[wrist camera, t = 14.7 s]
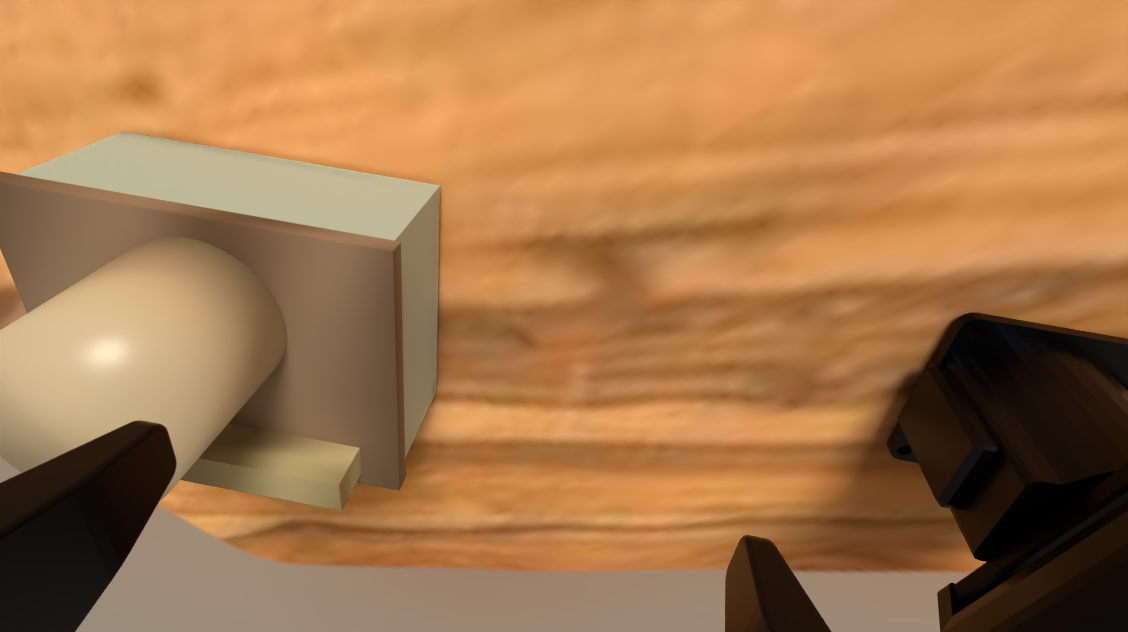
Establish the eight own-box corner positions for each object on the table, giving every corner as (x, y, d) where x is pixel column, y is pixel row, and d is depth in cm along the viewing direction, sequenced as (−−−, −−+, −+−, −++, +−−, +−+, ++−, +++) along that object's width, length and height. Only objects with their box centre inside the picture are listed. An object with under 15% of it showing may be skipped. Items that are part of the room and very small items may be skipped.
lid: (401, 241, 17) (368, 281, 15) (405, 477, 22) (382, 528, 20) (-9, 170, 17) (-90, 200, 15) (87, 417, 22) (36, 462, 20)
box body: (440, 185, 21) (392, 243, 17) (436, 391, 26) (398, 471, 22) (123, 131, 21) (10, 175, 17) (178, 344, 26) (100, 414, 22)
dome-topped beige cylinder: (296, 394, 20) (196, 524, 15) (143, 366, 20) (3, 487, 16) (275, 252, 17) (147, 364, 13) (97, 222, 17) (-87, 320, 13)
